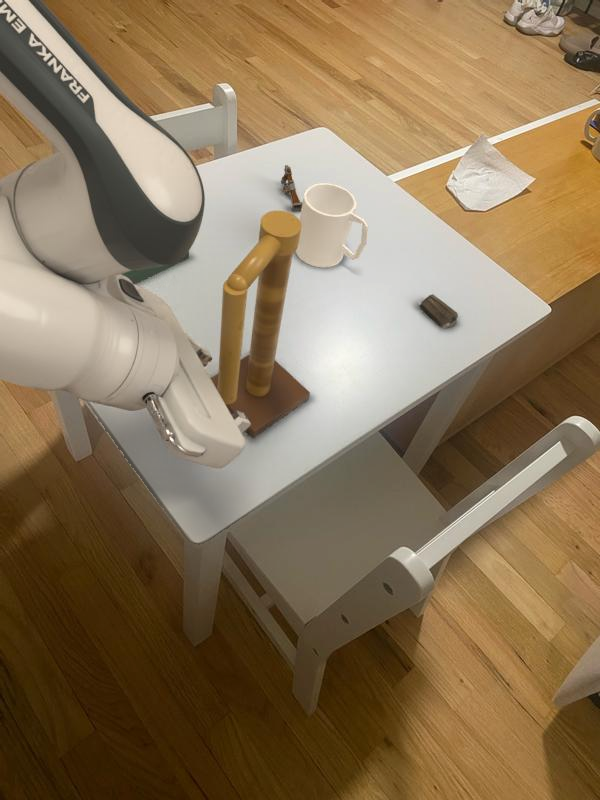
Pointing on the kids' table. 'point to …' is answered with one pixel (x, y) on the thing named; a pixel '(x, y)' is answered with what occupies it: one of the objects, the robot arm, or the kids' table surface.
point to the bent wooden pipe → (274, 239)
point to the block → (439, 311)
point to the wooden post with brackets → (291, 188)
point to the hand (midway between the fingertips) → (224, 390)
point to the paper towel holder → (267, 356)
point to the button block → (148, 272)
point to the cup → (328, 225)
